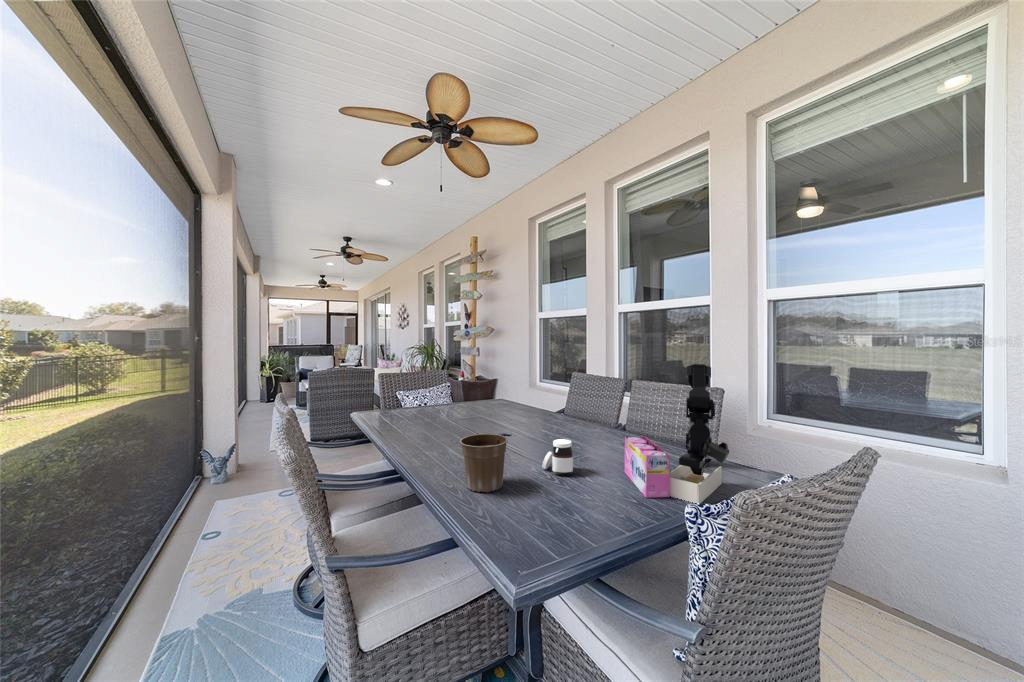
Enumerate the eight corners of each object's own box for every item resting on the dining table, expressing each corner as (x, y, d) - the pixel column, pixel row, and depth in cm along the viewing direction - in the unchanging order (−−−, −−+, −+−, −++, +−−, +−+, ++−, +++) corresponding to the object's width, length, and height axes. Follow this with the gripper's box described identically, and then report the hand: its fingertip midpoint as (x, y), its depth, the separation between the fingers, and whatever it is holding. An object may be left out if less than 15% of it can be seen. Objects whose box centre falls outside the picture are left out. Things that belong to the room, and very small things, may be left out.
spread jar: (574, 477, 146) (574, 445, 146) (543, 477, 146) (542, 445, 146) (570, 466, 158) (570, 436, 158) (541, 466, 158) (541, 436, 158)
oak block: (686, 489, 129) (686, 476, 129) (691, 485, 132) (691, 473, 132) (699, 492, 126) (699, 479, 126) (704, 488, 129) (704, 476, 129)
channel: (663, 494, 131) (663, 476, 131) (688, 476, 147) (688, 459, 147) (699, 504, 123) (699, 485, 123) (721, 483, 139) (721, 466, 139)
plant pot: (450, 486, 138) (450, 440, 138) (485, 474, 150) (484, 430, 150) (483, 500, 127) (482, 449, 127) (517, 485, 139) (517, 438, 139)
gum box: (622, 471, 152) (622, 435, 151) (643, 470, 152) (643, 434, 151) (645, 498, 128) (646, 455, 127) (670, 497, 128) (670, 454, 127)
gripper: (716, 445, 119) (716, 497, 119) (734, 432, 132) (734, 479, 133) (678, 438, 126) (678, 487, 127) (699, 426, 140) (698, 471, 140)
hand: (698, 481), depth 132 cm, fingers closed
